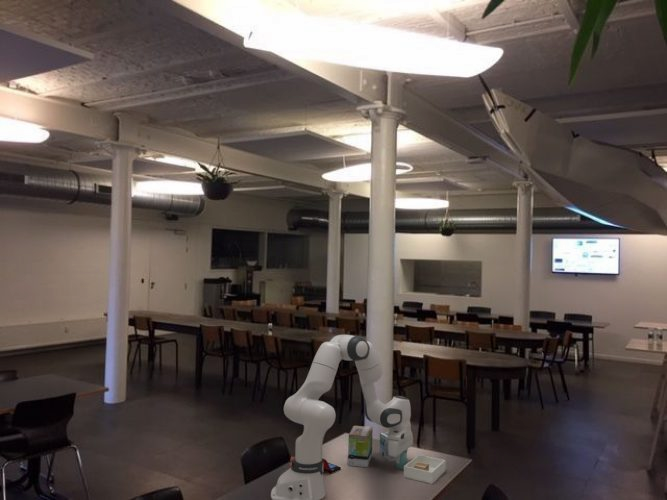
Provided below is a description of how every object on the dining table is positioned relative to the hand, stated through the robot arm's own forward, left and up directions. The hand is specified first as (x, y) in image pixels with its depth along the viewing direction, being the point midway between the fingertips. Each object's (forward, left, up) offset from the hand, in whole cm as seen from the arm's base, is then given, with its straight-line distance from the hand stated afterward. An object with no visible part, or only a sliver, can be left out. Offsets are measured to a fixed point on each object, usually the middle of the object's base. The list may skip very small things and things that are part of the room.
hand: (401, 460), depth 243 cm
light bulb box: (-4, +13, -3) cm, 14 cm away
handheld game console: (-36, -4, -3) cm, 36 cm away
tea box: (-19, +7, -3) cm, 20 cm away
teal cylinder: (0, 0, -3) cm, 3 cm away
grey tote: (+10, -8, -3) cm, 13 cm away
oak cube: (+8, -11, -2) cm, 14 cm away
